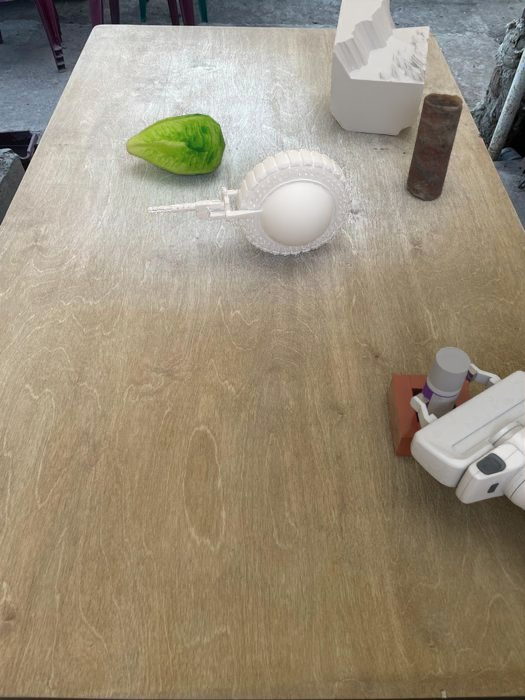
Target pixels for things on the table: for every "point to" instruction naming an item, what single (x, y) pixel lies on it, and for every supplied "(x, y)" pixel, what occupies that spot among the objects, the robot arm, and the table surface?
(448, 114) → the rusty brown cylinder
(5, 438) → the table surface
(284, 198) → the tracked sphere vehicle
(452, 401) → the container
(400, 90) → the white carved sculpture block
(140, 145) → the lettuce
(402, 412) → the holder
